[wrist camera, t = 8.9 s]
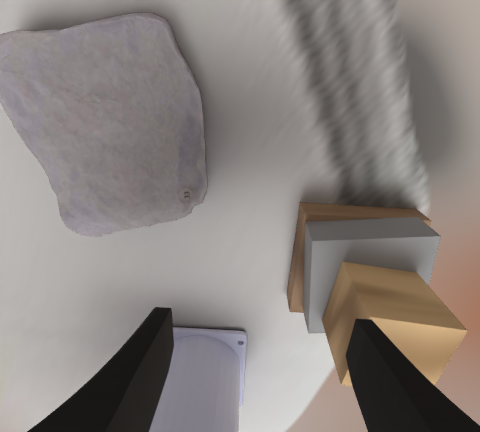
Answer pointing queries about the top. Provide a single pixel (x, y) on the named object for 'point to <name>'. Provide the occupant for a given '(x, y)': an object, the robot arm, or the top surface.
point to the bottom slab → (329, 214)
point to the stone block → (108, 120)
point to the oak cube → (392, 317)
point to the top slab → (361, 254)
